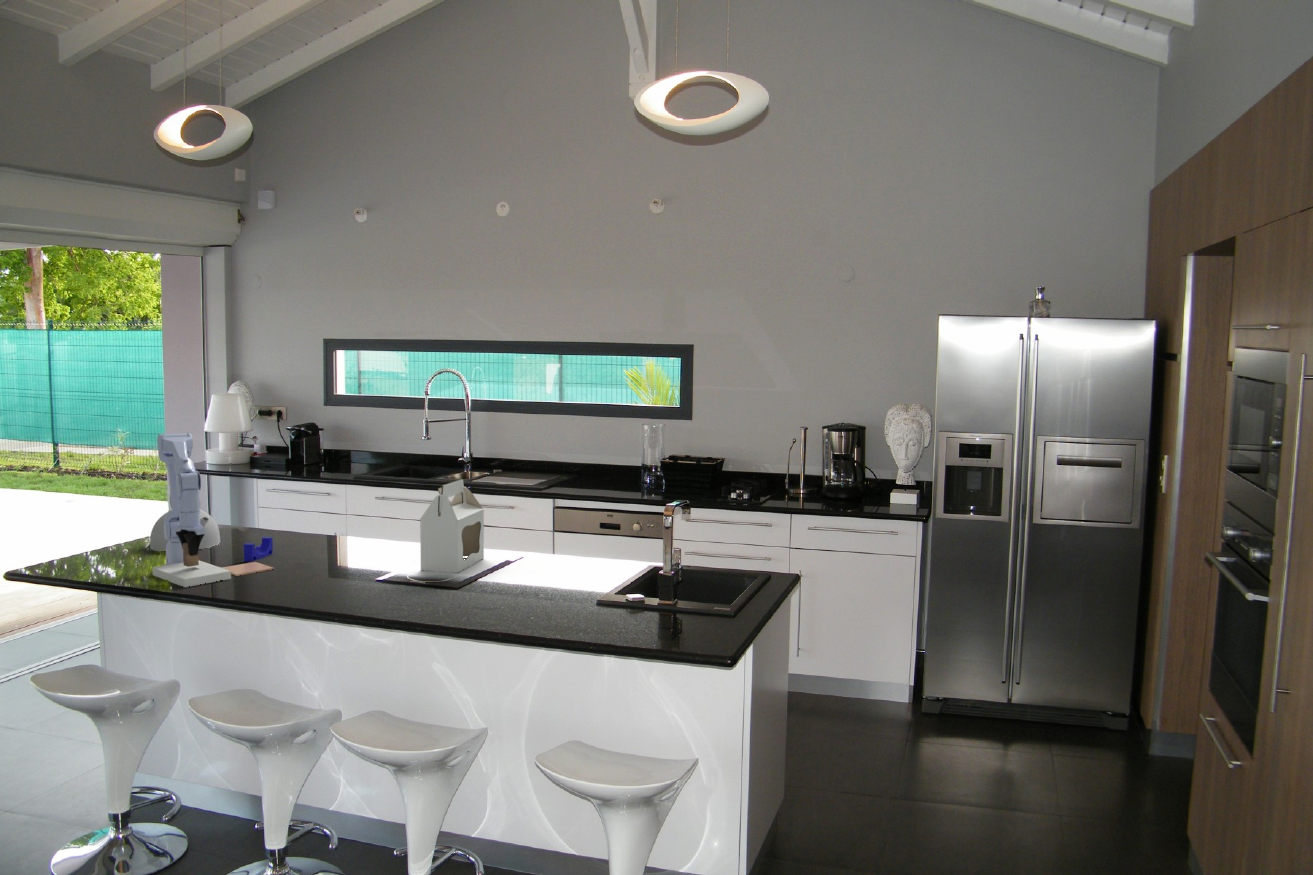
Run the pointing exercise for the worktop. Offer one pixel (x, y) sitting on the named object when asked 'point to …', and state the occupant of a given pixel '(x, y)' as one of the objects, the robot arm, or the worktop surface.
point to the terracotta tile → (247, 568)
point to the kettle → (206, 522)
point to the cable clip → (258, 549)
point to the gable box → (452, 530)
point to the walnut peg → (189, 557)
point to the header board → (191, 573)
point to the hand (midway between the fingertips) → (190, 554)
